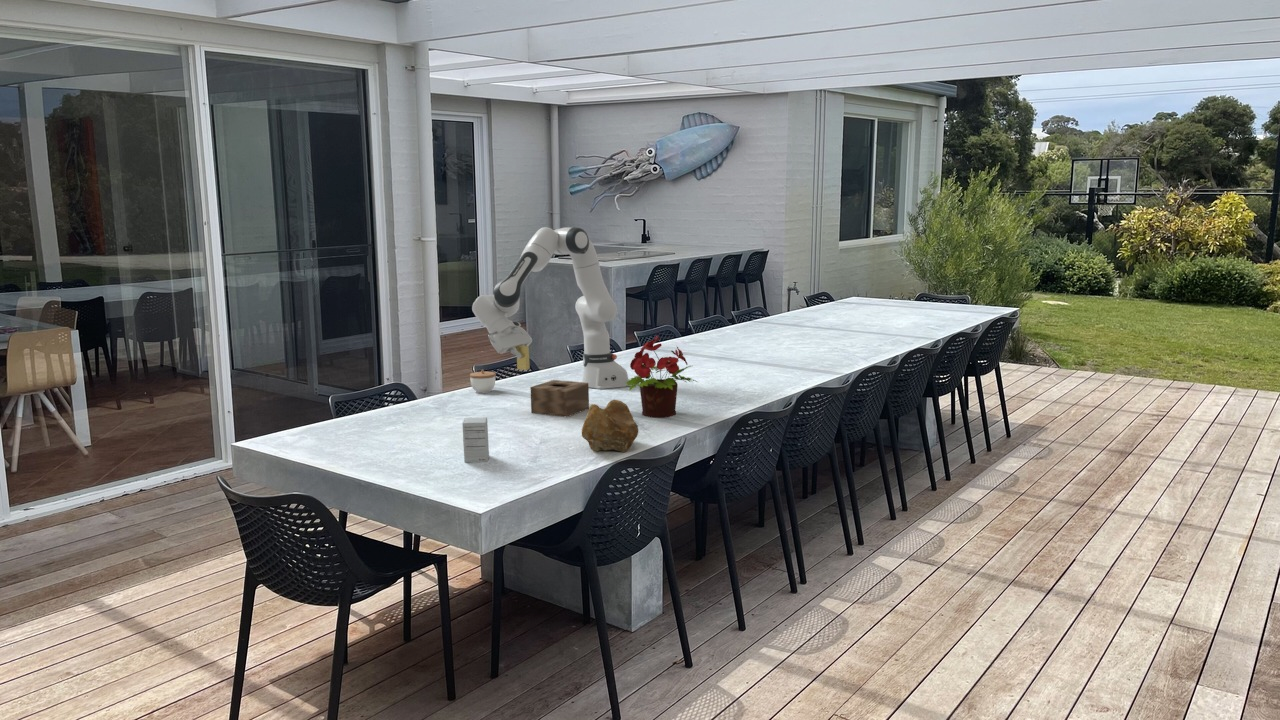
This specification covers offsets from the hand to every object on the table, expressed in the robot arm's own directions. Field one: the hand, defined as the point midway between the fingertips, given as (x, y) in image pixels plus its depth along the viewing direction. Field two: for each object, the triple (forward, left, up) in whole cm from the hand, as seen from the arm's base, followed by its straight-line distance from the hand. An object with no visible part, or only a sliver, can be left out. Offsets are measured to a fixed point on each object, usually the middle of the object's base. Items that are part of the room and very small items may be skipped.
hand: (524, 356), depth 368 cm
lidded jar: (+15, -37, -20) cm, 45 cm away
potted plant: (-46, +27, -20) cm, 57 cm away
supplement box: (+22, +71, -20) cm, 77 cm away
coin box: (-12, +9, -20) cm, 25 cm away
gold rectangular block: (0, 0, -5) cm, 5 cm away
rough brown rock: (-23, +69, -20) cm, 75 cm away
